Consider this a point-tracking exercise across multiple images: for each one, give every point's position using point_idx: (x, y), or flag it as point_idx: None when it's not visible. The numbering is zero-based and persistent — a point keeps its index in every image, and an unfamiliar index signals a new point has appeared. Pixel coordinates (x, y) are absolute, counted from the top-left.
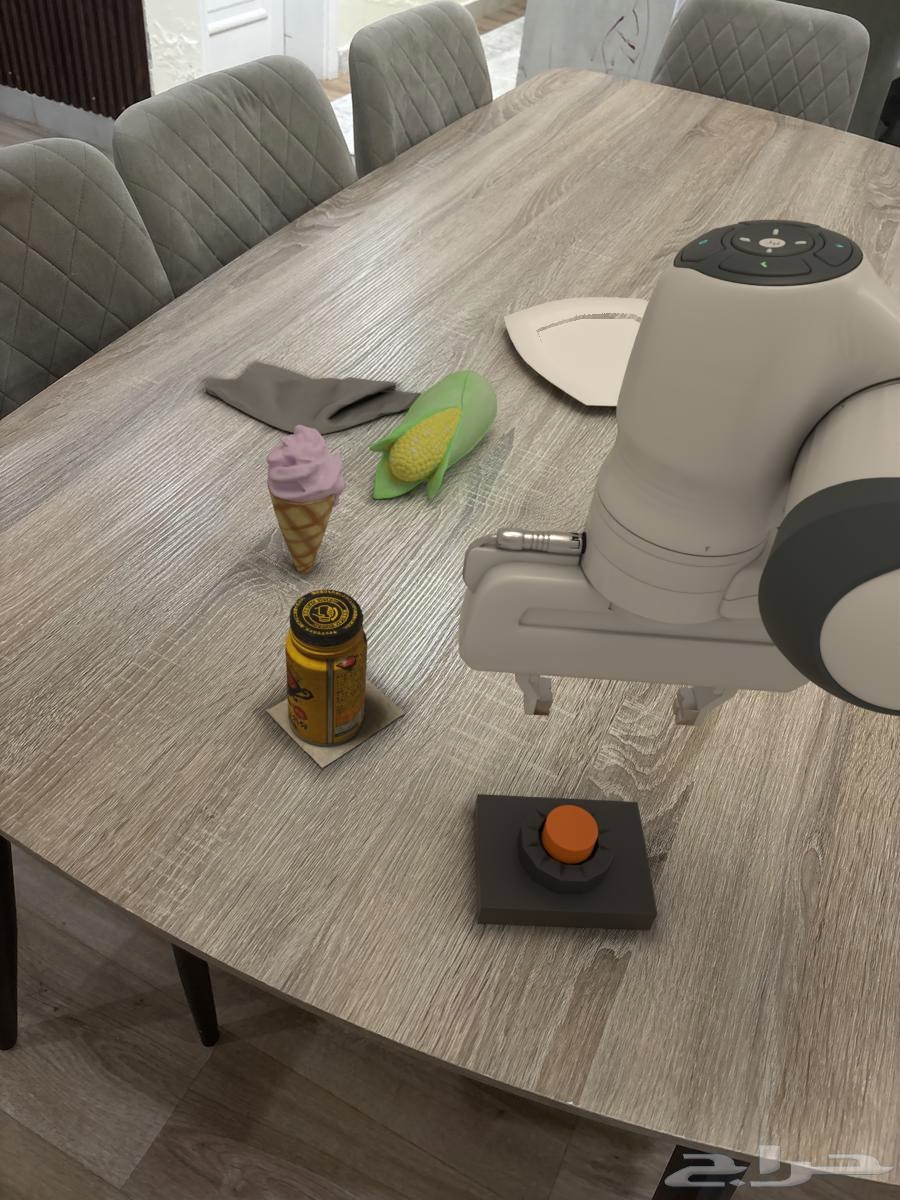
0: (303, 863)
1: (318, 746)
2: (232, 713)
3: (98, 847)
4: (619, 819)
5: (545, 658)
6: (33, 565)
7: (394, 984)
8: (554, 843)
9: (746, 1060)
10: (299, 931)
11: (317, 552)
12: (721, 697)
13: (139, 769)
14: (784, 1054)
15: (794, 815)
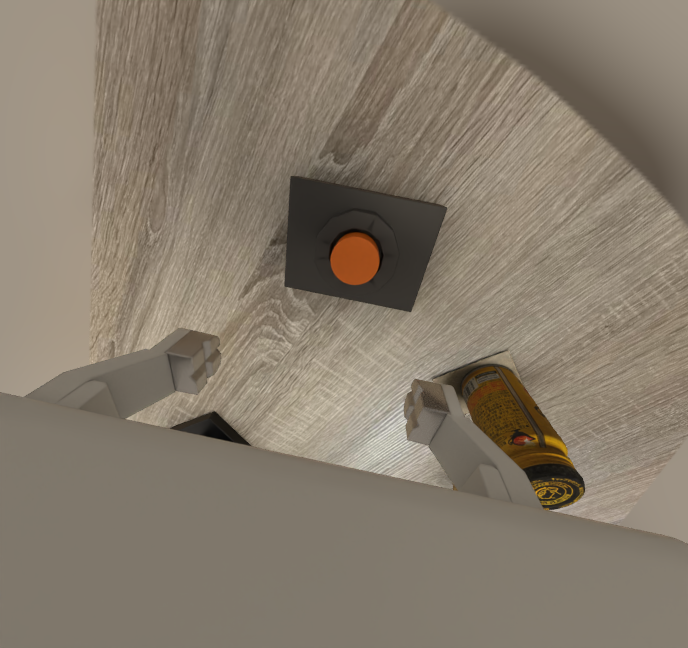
0: (557, 279)
1: (502, 365)
2: (550, 396)
3: None
4: (302, 273)
5: (568, 608)
6: (623, 498)
7: (535, 155)
8: (375, 248)
9: (236, 16)
10: (591, 220)
11: (455, 487)
12: (97, 373)
13: (638, 368)
14: (198, 18)
15: (165, 262)
